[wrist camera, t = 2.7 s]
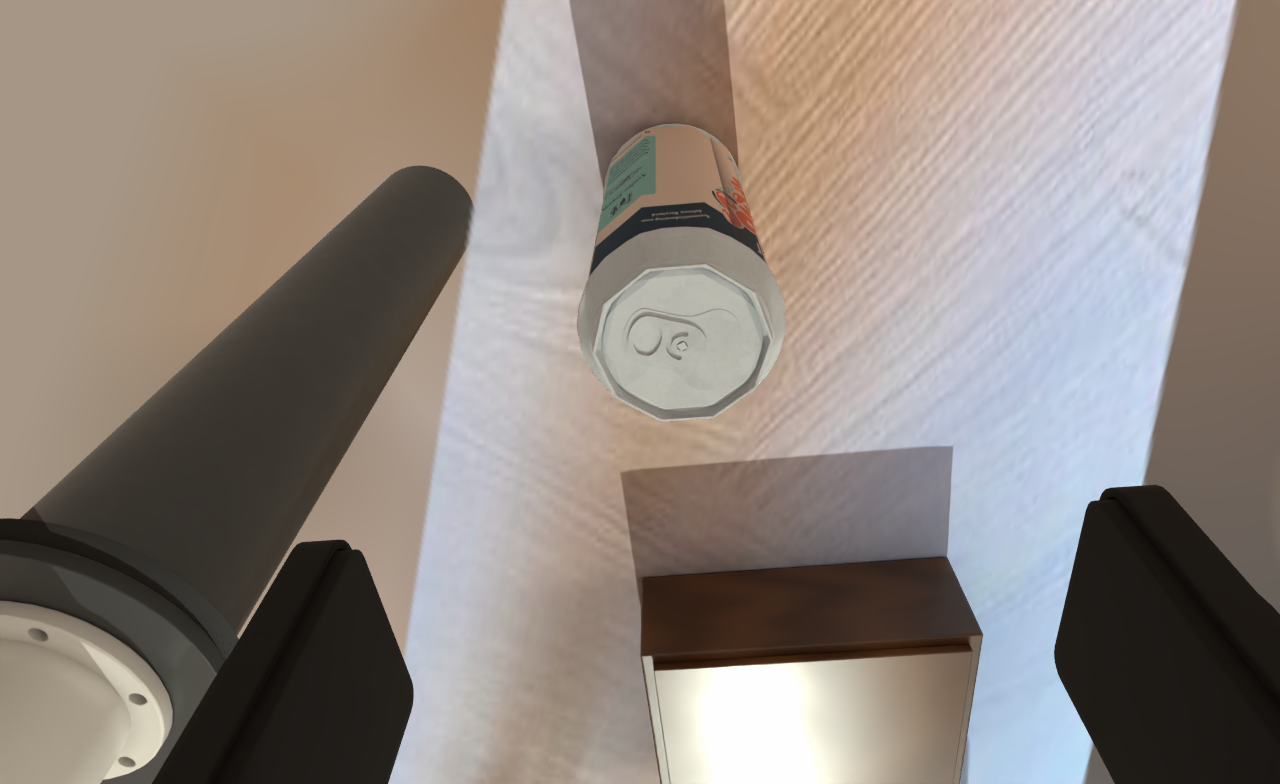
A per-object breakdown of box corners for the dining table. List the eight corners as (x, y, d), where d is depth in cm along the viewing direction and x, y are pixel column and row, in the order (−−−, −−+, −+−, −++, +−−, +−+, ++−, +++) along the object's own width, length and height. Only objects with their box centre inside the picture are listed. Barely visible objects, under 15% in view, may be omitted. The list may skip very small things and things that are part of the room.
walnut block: (668, 763, 44) (670, 854, 40) (641, 577, 37) (640, 663, 32) (925, 750, 43) (955, 841, 39) (947, 556, 36) (987, 641, 32)
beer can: (719, 268, 29) (754, 456, 19) (592, 239, 29) (556, 416, 18) (758, 138, 27) (823, 270, 16) (620, 105, 26) (597, 219, 16)
